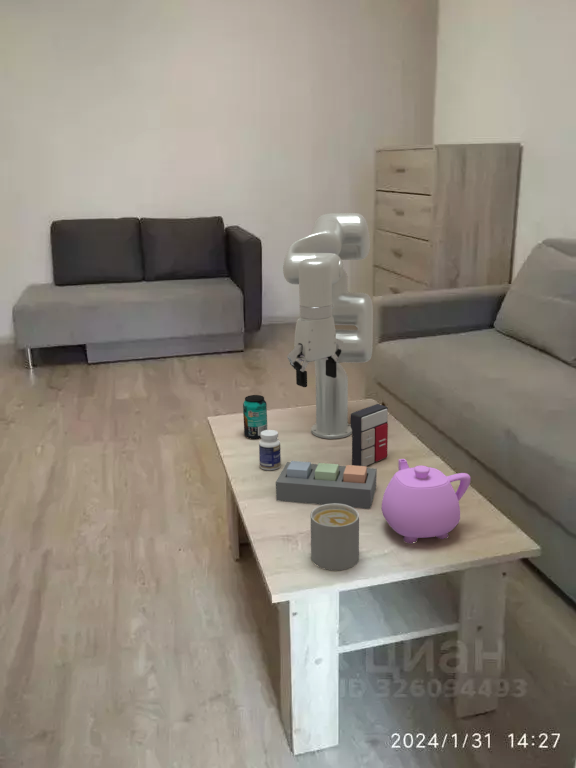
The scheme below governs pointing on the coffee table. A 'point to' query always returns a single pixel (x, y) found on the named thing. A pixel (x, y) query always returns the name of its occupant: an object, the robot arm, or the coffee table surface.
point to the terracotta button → (355, 474)
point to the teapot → (423, 502)
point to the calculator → (369, 435)
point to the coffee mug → (335, 536)
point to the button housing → (326, 489)
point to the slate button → (299, 469)
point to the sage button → (327, 472)
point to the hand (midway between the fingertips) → (316, 381)
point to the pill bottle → (269, 450)
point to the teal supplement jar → (254, 416)
